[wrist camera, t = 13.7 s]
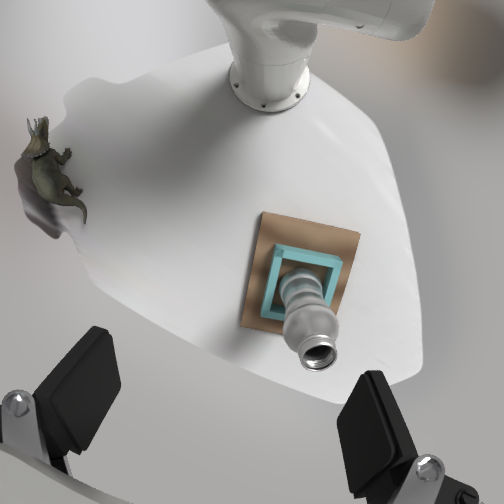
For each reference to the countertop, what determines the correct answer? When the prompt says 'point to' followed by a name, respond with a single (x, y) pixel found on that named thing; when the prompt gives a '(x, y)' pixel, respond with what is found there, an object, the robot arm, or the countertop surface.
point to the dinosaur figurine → (50, 169)
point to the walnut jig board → (295, 265)
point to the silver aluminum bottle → (308, 320)
